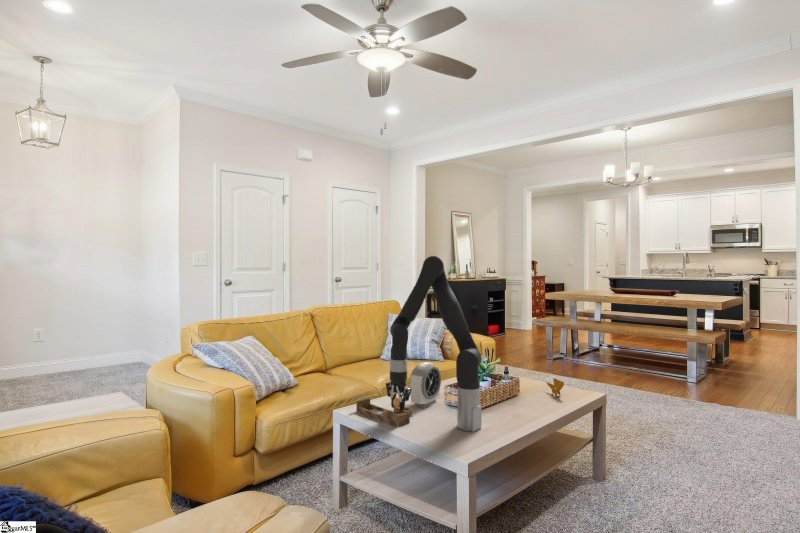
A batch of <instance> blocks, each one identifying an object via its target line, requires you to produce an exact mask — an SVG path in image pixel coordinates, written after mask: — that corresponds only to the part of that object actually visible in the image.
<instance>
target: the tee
mask: <svg viewBox="0 0 800 533" xmlns="http://www.w3.org/2000/svg"><path fill="white" fill-rule="evenodd" d="M404 410H407V411H410V417H412V416H413V409H411V408H408V407H405V409H404Z"/></svg>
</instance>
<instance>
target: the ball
mask: <svg viewBox="0 0 800 533" xmlns="http://www.w3.org/2000/svg"><path fill="white" fill-rule="evenodd" d="M393 405H394V406H395V407H396V408H400V399H399V397H398V396H396V398H395V399H394V400H393Z"/></svg>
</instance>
